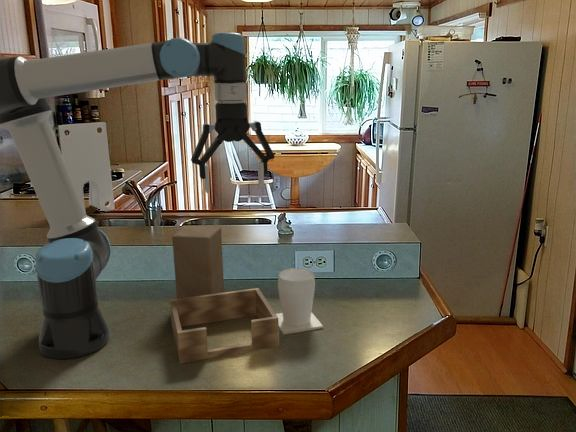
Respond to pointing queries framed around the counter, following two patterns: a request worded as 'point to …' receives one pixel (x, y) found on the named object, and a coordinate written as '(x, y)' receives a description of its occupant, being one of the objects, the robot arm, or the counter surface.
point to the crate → (218, 309)
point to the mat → (289, 329)
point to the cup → (296, 295)
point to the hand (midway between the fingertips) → (234, 189)
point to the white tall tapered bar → (88, 162)
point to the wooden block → (198, 261)
